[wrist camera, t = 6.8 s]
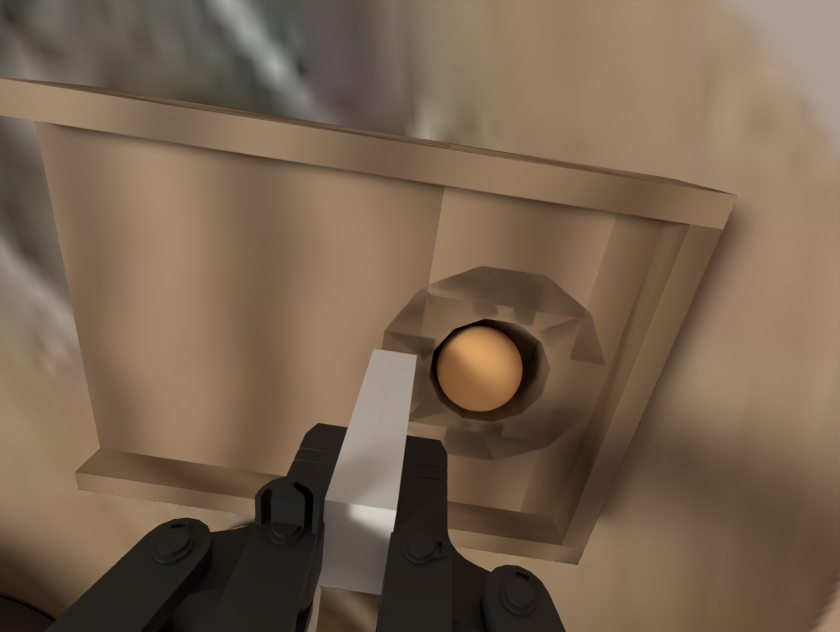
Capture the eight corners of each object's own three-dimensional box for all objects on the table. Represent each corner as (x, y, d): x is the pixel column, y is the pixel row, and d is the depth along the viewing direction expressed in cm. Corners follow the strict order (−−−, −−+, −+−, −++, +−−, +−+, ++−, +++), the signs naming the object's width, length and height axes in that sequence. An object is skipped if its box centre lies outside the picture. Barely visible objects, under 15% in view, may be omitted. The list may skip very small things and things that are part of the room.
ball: (421, 382, 20) (476, 440, 18) (416, 345, 17) (483, 410, 15) (475, 336, 21) (532, 387, 19) (481, 294, 18) (548, 350, 16)
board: (138, 430, 23) (79, 489, 19) (86, 85, 16) (-20, 75, 13) (556, 494, 23) (577, 565, 19) (673, 178, 16) (737, 195, 13)
